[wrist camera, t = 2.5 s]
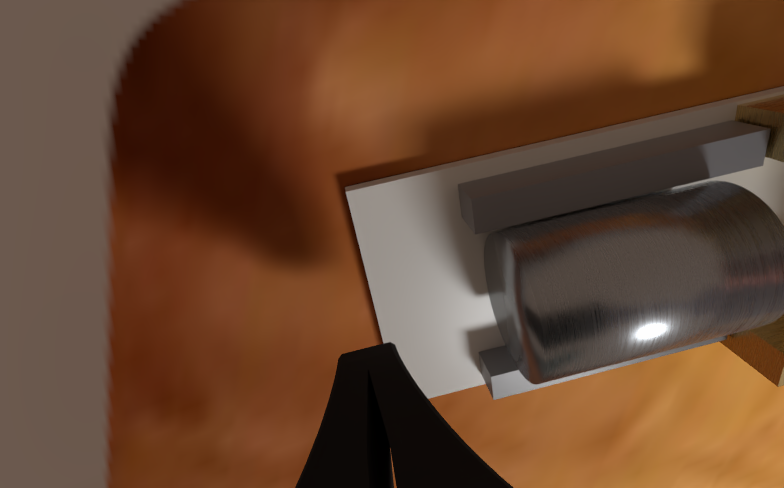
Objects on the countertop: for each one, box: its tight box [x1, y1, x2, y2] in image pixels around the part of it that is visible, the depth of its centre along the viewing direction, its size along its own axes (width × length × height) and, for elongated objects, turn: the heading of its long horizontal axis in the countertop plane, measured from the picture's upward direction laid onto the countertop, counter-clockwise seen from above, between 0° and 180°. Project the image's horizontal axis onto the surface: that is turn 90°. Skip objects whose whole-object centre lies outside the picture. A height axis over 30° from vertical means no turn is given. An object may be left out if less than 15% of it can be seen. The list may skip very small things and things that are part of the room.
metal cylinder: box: [484, 181, 784, 385], centre depth 12 cm, size 4×6×4 cm, turn 101°
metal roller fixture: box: [345, 86, 784, 400], centre depth 14 cm, size 8×19×2 cm, turn 101°
